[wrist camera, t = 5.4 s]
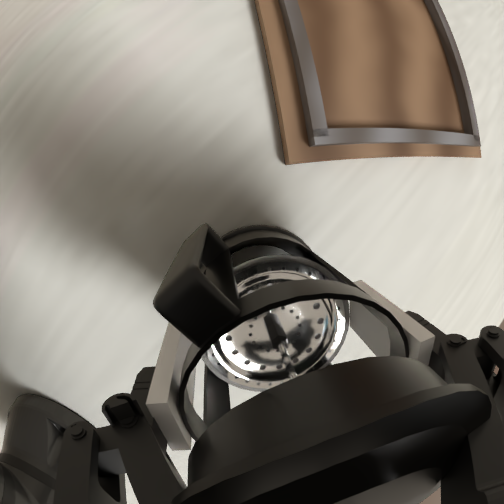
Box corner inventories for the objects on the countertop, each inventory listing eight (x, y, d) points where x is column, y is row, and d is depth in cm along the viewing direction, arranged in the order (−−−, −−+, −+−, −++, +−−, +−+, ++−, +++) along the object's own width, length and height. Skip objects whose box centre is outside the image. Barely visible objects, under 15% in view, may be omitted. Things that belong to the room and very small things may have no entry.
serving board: (285, 164, 19) (294, 162, 16) (241, -51, 13) (243, -67, 11) (473, 157, 20) (489, 157, 18) (418, -20, 15) (429, -28, 12)
